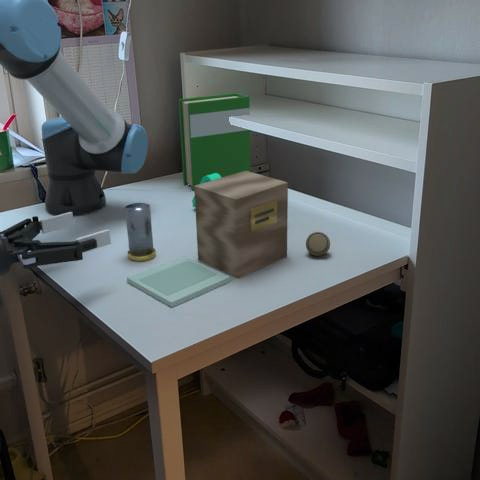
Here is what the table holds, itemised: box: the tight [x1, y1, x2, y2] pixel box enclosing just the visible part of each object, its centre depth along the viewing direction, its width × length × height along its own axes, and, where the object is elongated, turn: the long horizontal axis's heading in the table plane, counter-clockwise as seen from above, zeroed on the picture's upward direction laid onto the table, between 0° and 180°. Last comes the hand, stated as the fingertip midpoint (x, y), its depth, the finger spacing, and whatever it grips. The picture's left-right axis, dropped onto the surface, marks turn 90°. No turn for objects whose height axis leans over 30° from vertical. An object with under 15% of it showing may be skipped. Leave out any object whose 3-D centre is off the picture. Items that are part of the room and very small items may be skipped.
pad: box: [126, 255, 231, 308], centre depth 115 cm, size 14×14×1 cm
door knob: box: [305, 231, 331, 257], centre depth 125 cm, size 5×5×5 cm
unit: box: [193, 171, 289, 279], centre depth 122 cm, size 13×14×16 cm
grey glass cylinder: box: [124, 202, 157, 263], centre depth 125 cm, size 6×6×11 cm
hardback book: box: [178, 92, 252, 192], centre depth 167 cm, size 18×7×24 cm, turn 117°
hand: (90, 227), depth 116 cm, fingers open, 13 cm apart
